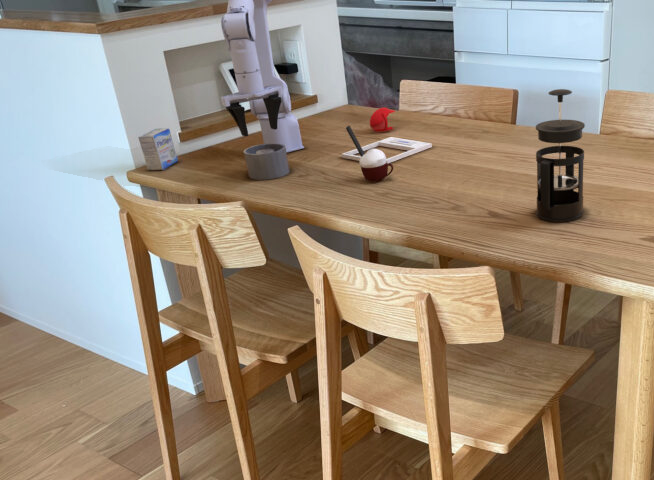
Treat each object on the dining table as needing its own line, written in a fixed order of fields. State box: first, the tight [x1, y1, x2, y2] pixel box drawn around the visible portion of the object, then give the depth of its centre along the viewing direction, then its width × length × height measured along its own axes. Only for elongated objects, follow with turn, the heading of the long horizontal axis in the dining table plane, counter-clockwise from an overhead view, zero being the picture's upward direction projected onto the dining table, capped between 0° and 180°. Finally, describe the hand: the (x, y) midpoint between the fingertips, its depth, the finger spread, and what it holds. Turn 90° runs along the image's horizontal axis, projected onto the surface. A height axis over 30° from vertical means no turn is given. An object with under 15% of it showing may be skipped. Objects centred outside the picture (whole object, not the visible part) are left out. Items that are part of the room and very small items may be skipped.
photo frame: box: [341, 136, 433, 164], centre depth 193 cm, size 15×1×18 cm
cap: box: [369, 107, 395, 133], centre depth 212 cm, size 8×6×6 cm
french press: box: [535, 88, 586, 223], centre depth 141 cm, size 12×9×23 cm
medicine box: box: [137, 127, 179, 171], centre depth 194 cm, size 8×4×9 cm, turn 168°
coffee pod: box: [256, 149, 274, 154], centre depth 182 cm, size 4×4×5 cm
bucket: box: [243, 143, 291, 181], centre depth 182 cm, size 10×10×6 cm
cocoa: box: [345, 125, 394, 182], centre depth 171 cm, size 10×6×12 cm, turn 50°
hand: (259, 132), depth 179 cm, fingers open, 7 cm apart
